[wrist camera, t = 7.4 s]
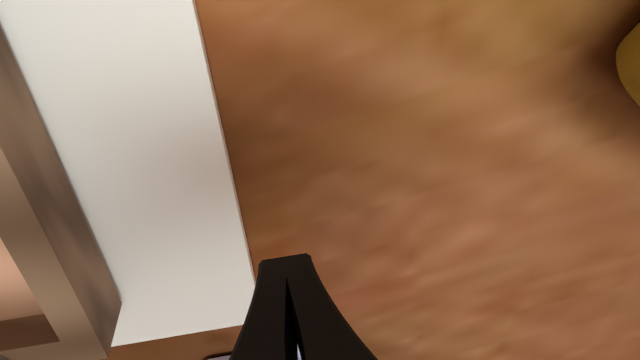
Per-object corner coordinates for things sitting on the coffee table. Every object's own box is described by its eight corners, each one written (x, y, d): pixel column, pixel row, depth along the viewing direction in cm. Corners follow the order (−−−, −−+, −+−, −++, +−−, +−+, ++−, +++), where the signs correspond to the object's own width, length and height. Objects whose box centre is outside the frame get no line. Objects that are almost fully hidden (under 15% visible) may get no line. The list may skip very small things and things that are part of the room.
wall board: (261, 310, 28) (262, 324, 27) (-75, 366, 26) (-85, 382, 25) (165, -134, 16) (162, -134, 15) (-444, -74, 15) (-485, -69, 14)
